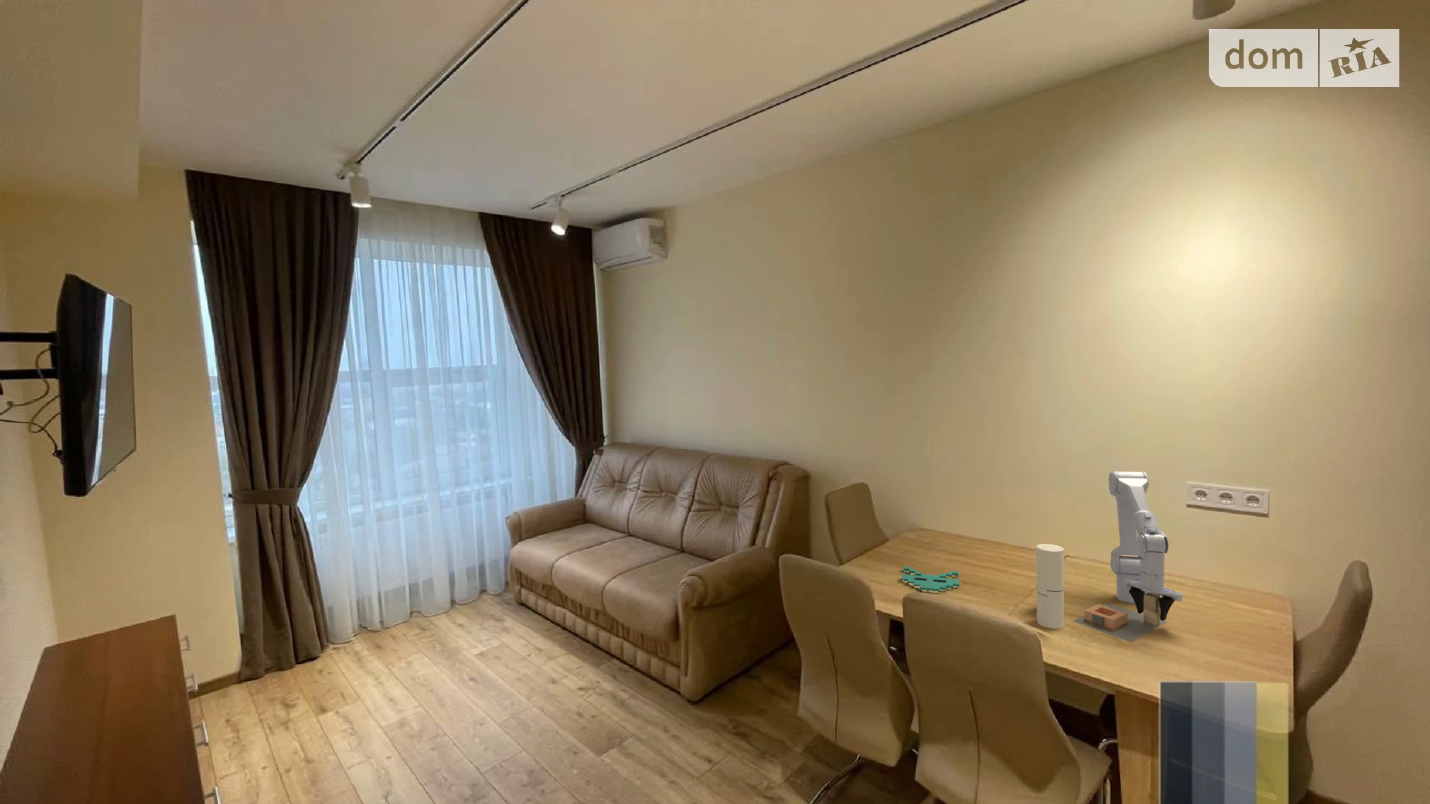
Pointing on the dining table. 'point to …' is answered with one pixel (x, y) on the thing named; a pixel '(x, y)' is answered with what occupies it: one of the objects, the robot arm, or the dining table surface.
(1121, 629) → the slate board
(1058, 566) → the cylindrical container
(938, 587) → the alien figure
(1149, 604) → the tan rectangular block
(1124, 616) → the terracotta square frame
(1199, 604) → the dining table surface
